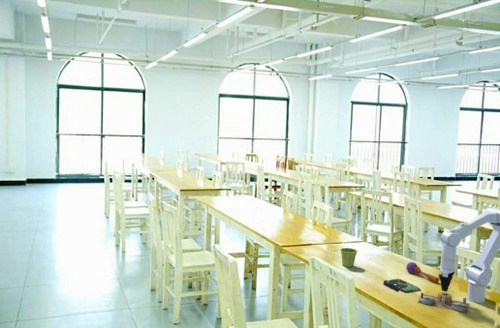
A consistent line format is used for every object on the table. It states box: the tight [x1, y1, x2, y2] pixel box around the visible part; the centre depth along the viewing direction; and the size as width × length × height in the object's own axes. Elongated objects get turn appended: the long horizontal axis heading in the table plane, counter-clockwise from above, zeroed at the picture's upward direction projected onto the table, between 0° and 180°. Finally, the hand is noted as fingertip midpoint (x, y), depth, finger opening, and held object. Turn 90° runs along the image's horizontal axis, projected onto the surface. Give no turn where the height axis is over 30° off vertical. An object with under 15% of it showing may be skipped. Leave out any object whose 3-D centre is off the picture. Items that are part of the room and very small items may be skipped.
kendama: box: [405, 261, 440, 284], centre depth 245 cm, size 6×6×20 cm
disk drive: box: [383, 278, 422, 294], centre depth 225 cm, size 10×3×15 cm
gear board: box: [417, 292, 470, 314], centre depth 205 cm, size 13×20×5 cm, turn 61°
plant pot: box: [340, 247, 358, 268], centre depth 258 cm, size 9×9×9 cm
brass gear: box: [437, 291, 453, 303], centre depth 208 cm, size 6×6×3 cm
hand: (445, 288), depth 208 cm, fingers open, 7 cm apart
